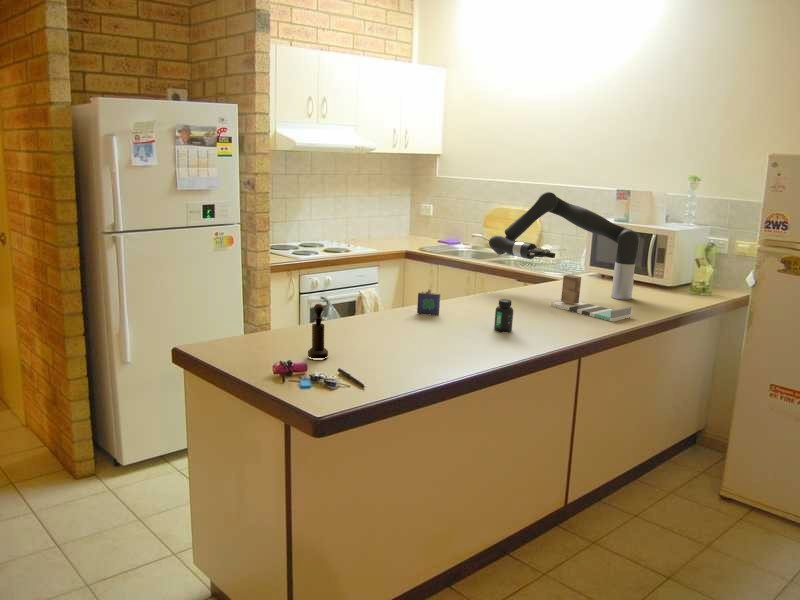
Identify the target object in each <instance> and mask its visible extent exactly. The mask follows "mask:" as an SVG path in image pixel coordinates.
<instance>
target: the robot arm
mask: <svg viewBox="0 0 800 600" xmlns="http://www.w3.org/2000/svg"><path fill="white" fill-rule="evenodd" d="M547 213H551V214H554V215H556V216H559V217H561V218H563V219H565V220H566V221H568V222H569V223H571V224H573V225H575V226H576V227H578V228H580V229H582V230H584V231H587V232H589V233H592V234H595V235H599V236H602V237H605V238H607V239H609V240H611V241H613V242H614V243H616V244H617V249H616V255H615V260H614V261H615V262H614V269H613V278H612V286H611V287H612V288H611V296H610V298H613V299H616V300H626V301H627V300H628V301H629V300H631V298H633V290H634V289H633V288H634V280H635V279H634V275H635V268H636V260H637V256H638V250H639V242H640V241H639V240H640V239H639V235H638V234H637V233H636V231H634V230H632V229H629V228H627V227H624V226H621V225H619V224H616V223H613V222H612V221H610V220H608V219H606V218H605V217H603V216H601V215H599V214H597V213H596V212H594V211H591V210H590V209H587V208H585V207H581V206H579V205H575V204H572V203H569V202H567V201H565V200H563V199H561V198H560V197H558V196H557V195H556V193H554V192H551V191H545V192H543V193H541V195H539V196H538V199H537V200H536V202H535V203H534V204H533V205H532V206H531V207H530V208H529V209H528V210H527V211H526V212H525V213H523V214H522V215H521V216H519V217H518V218H517V219H516V220H514V221H513V222H512V223H511V224H510V225H508V227H506V229H505V230H504V234H505V236H501V235H494V236H492V237H491V238H489V240H488V245H489V247H490V248H491V250H493V251H494V252H495V254H497V255H501V256H502V255H505V254H506V255H507V254H508V255H510V256H514V257H517V258H523V259H526V260H533V259H534V258H548V259H549V258H550V259H554V258H556V253H555V252H552V251H551V250H549V249H548V248H547V249H543V248H541V247H537V246H536V244H535V243H533V242H532V243H531V242H528V241H526V242H525V241H518V240H517V239H518V238H520V236H521V235H522V234H524V233H525V232H526V231H527V230H528V229H529V228H530V227H531V226H532V225H533V224H534V223H535V222H536V221H537V220H538V219H540V218H541V217H542V216H544V215H545V214H547Z"/></svg>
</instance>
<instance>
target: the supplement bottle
mask: <svg viewBox="0 0 800 600" xmlns="http://www.w3.org/2000/svg"><path fill="white" fill-rule="evenodd" d="M512 301H513V300H511V299H508V298H507V299H506V298H499V299H498V306H496V307H495V311H494V312H495V314H494V326H493V330H494V331H495V332H497V331H498V333H502V332H508V333H511V332H512V330H513V322H514V321H513V320H514V309H513V307H512Z"/></svg>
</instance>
